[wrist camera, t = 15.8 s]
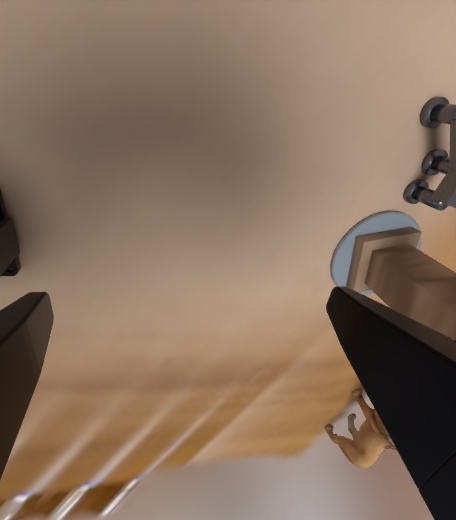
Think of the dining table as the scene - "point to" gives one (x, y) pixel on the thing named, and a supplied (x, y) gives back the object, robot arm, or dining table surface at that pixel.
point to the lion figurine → (363, 436)
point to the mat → (366, 226)
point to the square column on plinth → (405, 278)
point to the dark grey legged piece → (437, 159)
